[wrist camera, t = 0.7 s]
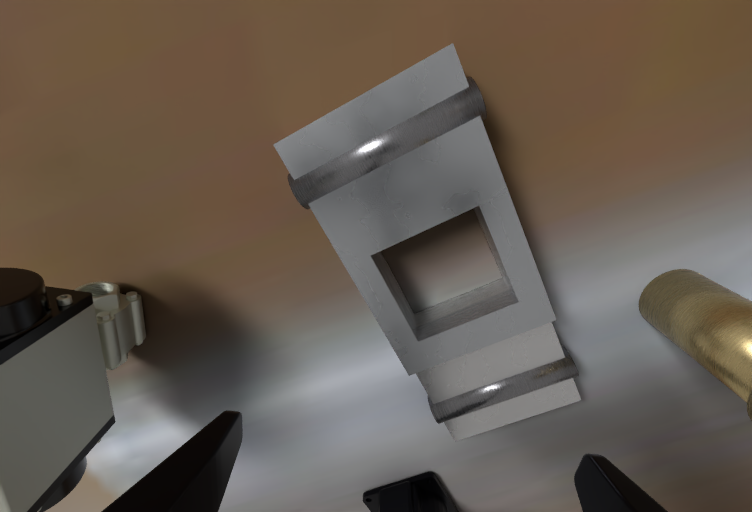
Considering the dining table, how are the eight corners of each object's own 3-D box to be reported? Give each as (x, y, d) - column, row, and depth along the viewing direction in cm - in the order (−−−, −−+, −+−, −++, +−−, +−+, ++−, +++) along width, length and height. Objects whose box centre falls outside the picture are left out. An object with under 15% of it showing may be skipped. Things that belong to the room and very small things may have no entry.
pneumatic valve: (147, 235, 22) (-99, 365, 11) (163, 384, 26) (0, 583, 15) (56, 222, 22) (-288, 340, 11) (87, 373, 26) (-132, 567, 15)
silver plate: (575, 382, 25) (600, 420, 22) (448, 425, 27) (455, 465, 24) (448, 50, 18) (460, 38, 15) (284, 142, 20) (266, 148, 17)
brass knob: (720, 314, 23) (912, 432, 14) (639, 342, 24) (775, 468, 15) (709, 248, 21) (918, 339, 13) (622, 281, 22) (763, 386, 14)
